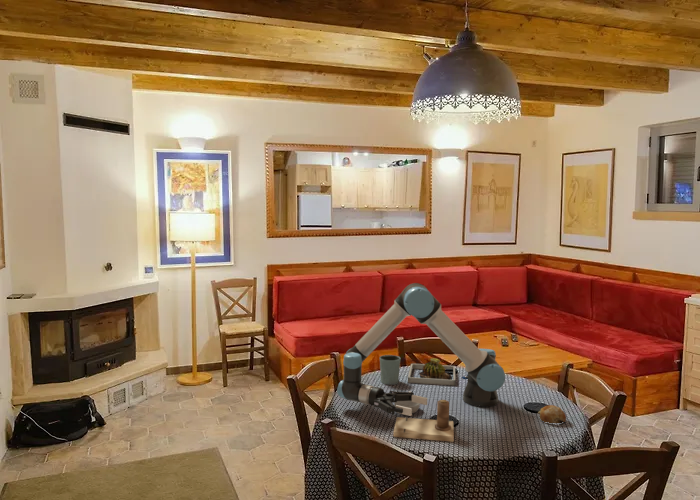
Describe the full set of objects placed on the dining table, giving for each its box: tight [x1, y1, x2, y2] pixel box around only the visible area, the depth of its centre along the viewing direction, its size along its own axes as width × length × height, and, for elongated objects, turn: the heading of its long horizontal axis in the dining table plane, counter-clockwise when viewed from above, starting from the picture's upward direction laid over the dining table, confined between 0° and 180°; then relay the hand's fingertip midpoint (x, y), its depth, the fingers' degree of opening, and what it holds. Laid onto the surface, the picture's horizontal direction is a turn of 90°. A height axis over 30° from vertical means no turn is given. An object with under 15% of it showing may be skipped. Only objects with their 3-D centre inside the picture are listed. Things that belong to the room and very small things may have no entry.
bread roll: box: [537, 404, 567, 423], centre depth 220 cm, size 10×10×8 cm
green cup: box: [379, 354, 401, 386], centre depth 266 cm, size 10×10×12 cm
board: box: [393, 416, 455, 443], centre depth 209 cm, size 22×14×2 cm, turn 80°
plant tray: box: [407, 363, 456, 386], centre depth 275 cm, size 23×24×2 cm
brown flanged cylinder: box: [435, 399, 451, 431], centre depth 207 cm, size 6×6×10 cm
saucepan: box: [393, 390, 421, 414], centre depth 234 cm, size 11×18×4 cm, turn 168°
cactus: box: [418, 357, 452, 380], centre depth 274 cm, size 17×16×10 cm
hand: (419, 406), depth 212 cm, fingers open, 13 cm apart
